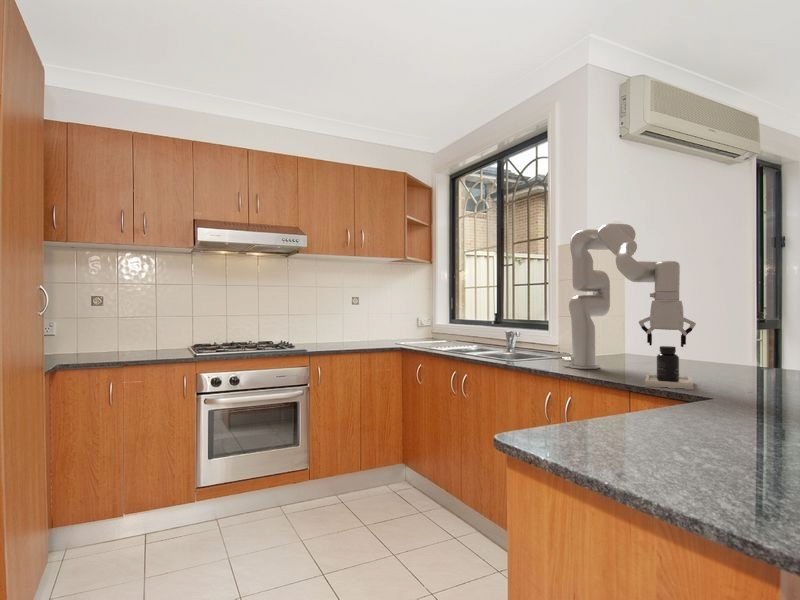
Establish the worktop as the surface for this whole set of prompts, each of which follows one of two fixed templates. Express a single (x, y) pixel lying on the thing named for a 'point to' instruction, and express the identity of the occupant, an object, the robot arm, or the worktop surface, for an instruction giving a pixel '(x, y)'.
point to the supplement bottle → (667, 364)
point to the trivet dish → (682, 383)
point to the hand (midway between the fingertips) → (666, 345)
